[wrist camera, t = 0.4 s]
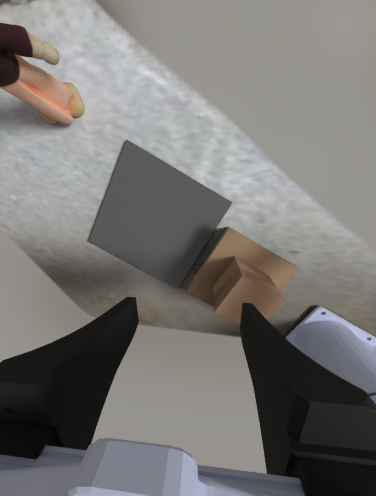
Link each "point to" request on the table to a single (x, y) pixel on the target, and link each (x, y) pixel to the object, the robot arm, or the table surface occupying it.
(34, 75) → the grandmother figurine
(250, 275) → the lid
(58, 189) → the table surface
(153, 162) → the mat
